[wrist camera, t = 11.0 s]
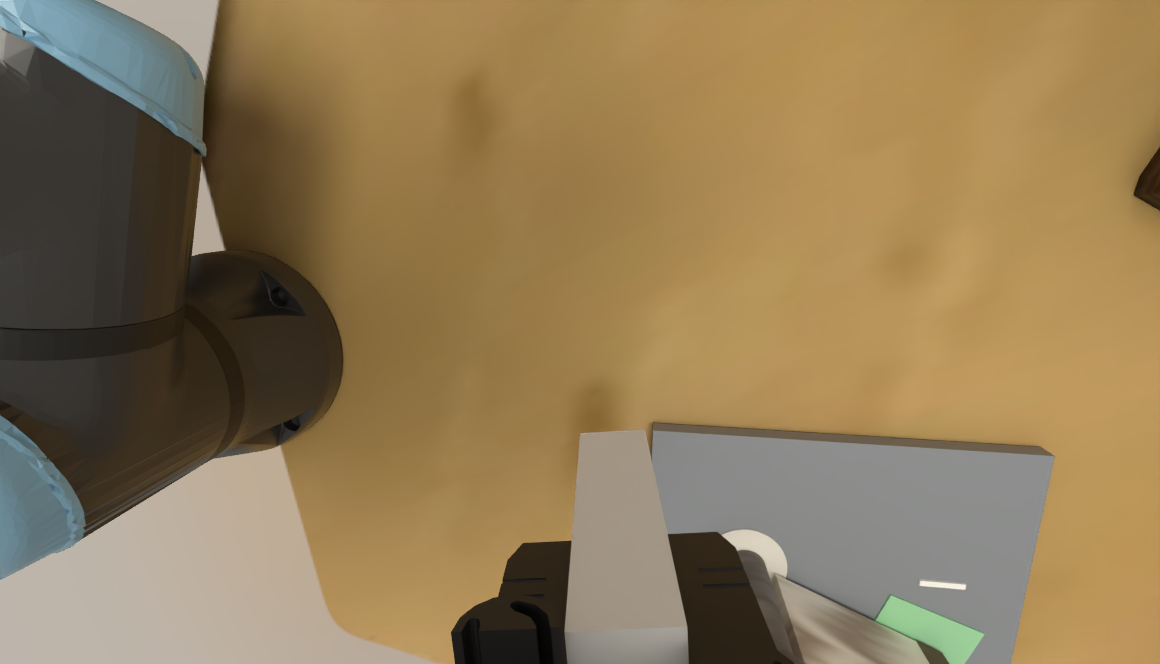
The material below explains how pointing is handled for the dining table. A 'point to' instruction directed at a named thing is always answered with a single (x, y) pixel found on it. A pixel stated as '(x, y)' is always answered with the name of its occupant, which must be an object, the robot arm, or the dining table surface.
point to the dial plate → (872, 522)
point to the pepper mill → (1150, 182)
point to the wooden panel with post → (826, 626)
